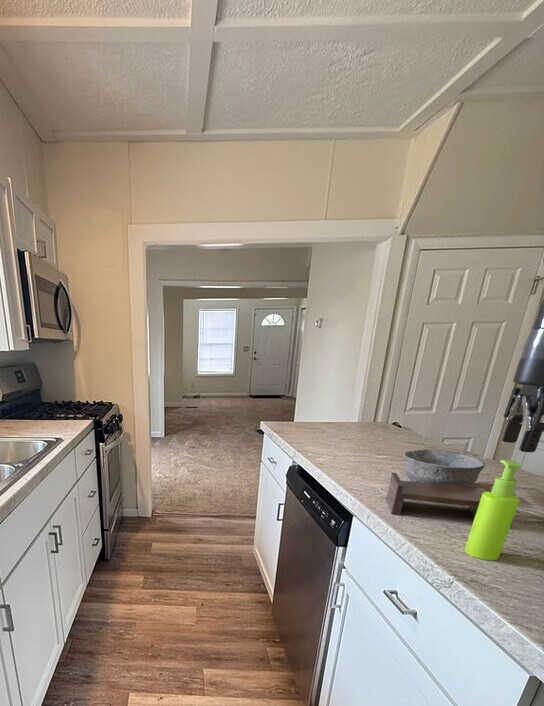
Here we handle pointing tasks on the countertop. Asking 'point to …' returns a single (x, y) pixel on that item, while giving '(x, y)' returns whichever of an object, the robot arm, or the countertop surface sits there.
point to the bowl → (441, 467)
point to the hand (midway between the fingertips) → (517, 446)
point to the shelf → (431, 494)
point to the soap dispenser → (494, 516)
